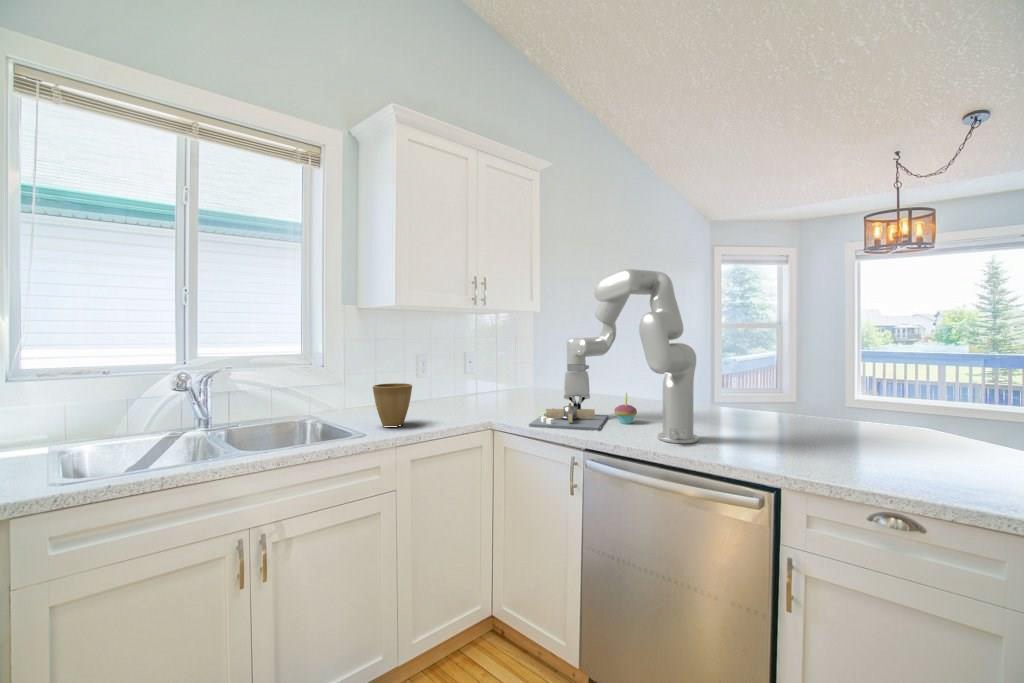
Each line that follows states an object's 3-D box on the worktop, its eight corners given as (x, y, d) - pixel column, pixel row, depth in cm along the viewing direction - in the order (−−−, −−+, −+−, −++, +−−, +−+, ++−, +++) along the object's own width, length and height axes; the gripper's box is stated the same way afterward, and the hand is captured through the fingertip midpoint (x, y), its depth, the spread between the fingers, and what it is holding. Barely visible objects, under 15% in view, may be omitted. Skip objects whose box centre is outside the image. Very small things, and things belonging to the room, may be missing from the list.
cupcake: (639, 425, 177) (639, 393, 177) (616, 425, 177) (616, 393, 177) (633, 420, 186) (633, 390, 185) (612, 420, 186) (612, 390, 186)
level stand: (598, 430, 168) (598, 422, 168) (529, 426, 177) (529, 419, 177) (607, 417, 193) (607, 410, 193) (546, 414, 201) (546, 407, 201)
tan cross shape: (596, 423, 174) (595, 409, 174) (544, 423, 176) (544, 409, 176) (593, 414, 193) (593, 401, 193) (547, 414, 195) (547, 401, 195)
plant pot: (407, 429, 173) (407, 386, 173) (368, 430, 174) (367, 387, 173) (416, 421, 188) (416, 382, 188) (380, 422, 189) (379, 382, 188)
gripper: (594, 367, 194) (595, 411, 194) (558, 367, 196) (559, 411, 196) (595, 368, 186) (595, 414, 186) (557, 369, 189) (558, 414, 189)
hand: (577, 413), depth 191 cm, fingers closed
